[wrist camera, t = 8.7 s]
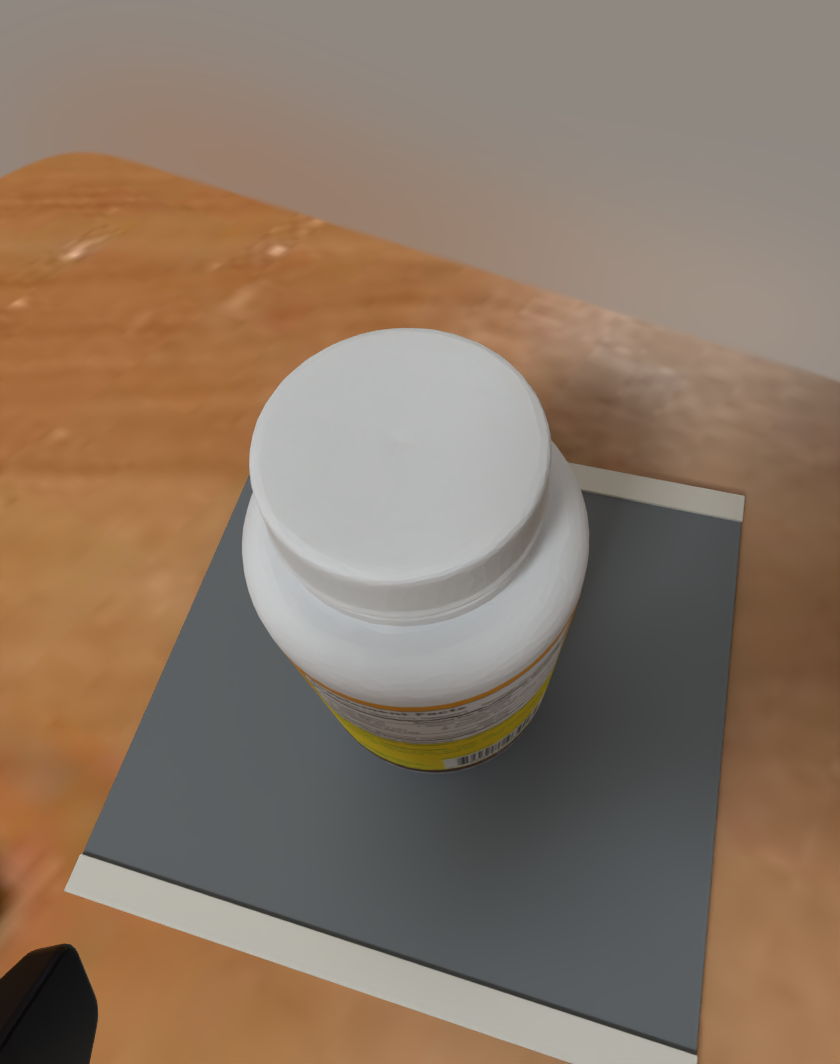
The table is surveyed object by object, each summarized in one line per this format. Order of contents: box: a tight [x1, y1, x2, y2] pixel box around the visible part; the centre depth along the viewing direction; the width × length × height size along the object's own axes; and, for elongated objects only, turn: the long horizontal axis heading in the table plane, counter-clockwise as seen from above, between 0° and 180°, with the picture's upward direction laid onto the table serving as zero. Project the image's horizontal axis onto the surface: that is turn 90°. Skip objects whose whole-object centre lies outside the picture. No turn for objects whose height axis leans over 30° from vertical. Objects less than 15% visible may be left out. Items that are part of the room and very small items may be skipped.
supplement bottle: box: [242, 328, 589, 773], centre depth 14 cm, size 6×6×10 cm
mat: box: [64, 462, 745, 1064], centre depth 18 cm, size 14×14×1 cm
